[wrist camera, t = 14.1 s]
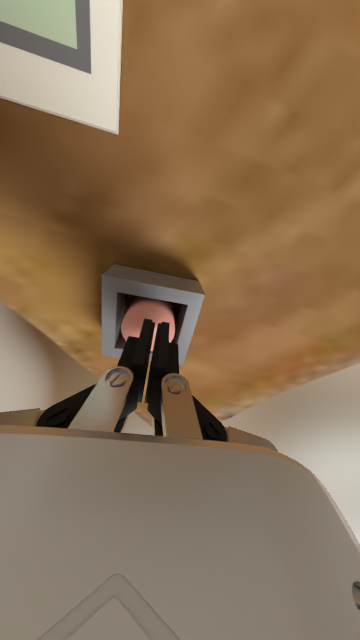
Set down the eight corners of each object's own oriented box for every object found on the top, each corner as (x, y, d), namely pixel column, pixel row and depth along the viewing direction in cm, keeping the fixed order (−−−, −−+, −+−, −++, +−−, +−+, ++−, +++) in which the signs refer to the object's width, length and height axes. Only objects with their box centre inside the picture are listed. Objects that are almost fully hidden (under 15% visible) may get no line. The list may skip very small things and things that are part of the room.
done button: (178, 298, 15) (180, 312, 13) (169, 336, 17) (169, 354, 14) (129, 289, 14) (122, 302, 12) (126, 330, 16) (119, 347, 14)
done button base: (199, 281, 15) (204, 294, 12) (181, 344, 18) (182, 365, 16) (114, 263, 14) (101, 274, 11) (112, 334, 17) (101, 355, 15)
